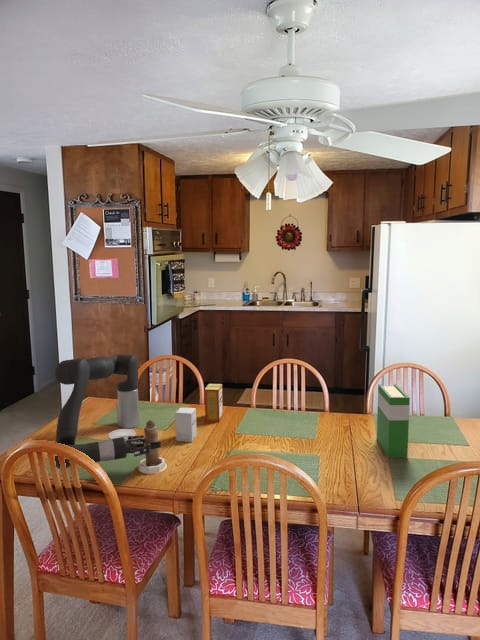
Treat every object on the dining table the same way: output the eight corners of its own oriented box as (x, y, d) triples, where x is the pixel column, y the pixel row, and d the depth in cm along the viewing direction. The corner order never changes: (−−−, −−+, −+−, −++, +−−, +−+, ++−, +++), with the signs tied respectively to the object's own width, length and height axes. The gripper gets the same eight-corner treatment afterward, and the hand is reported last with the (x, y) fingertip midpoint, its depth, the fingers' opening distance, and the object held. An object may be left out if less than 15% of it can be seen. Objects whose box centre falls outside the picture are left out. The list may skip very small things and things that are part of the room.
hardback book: (376, 439, 210) (378, 384, 206) (394, 439, 210) (396, 384, 206) (388, 457, 193) (390, 397, 189) (407, 457, 192) (409, 397, 189)
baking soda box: (219, 422, 233) (218, 389, 230) (205, 421, 234) (204, 388, 231) (223, 415, 242) (222, 383, 240) (209, 414, 243) (209, 382, 241)
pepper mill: (143, 468, 185) (141, 421, 182) (152, 463, 189) (149, 417, 186) (153, 471, 182) (151, 423, 179) (161, 465, 186) (159, 419, 183)
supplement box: (192, 442, 210) (191, 413, 208) (175, 441, 212) (174, 412, 210) (197, 435, 217) (196, 407, 215) (180, 434, 219) (179, 406, 217)
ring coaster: (132, 472, 184) (132, 464, 183) (151, 461, 193) (151, 453, 192) (154, 478, 179) (153, 470, 178) (172, 467, 187) (172, 459, 187)
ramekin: (112, 453, 201) (111, 440, 200) (105, 443, 211) (105, 431, 210) (139, 447, 206) (138, 435, 205) (132, 438, 216) (131, 426, 215)
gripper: (114, 447, 172) (162, 439, 178) (108, 432, 185) (154, 425, 191) (115, 467, 173) (163, 458, 179) (109, 451, 186) (155, 444, 192)
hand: (158, 441), depth 185 cm, fingers closed on pepper mill, 4 cm apart
